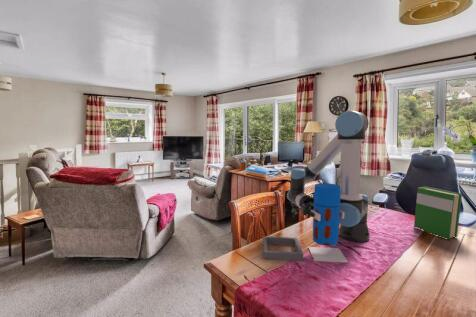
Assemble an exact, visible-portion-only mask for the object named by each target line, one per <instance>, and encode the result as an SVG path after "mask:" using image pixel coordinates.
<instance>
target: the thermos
mask: <svg viewBox="0 0 476 317" xmlns="http://www.w3.org/2000/svg"><path fill="white" fill-rule="evenodd" d="M313 189H314V191H313V194H314V195H313V198H314V211H315V212H317V213H319V214H321V218H320V221H318V220H317V219H315V218H313V217H312V218H313V219H312V220H313V221H312V240H313V242H314V243H315V244H317V245H319V246H325V247H333V246H336V245H338V243H339V227H340V224H339V217H340V197H341V187H340V184H339V185H338V184H335V183H326V182H325V183H323V182H320V183H315V185H314V188H313Z"/></svg>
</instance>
